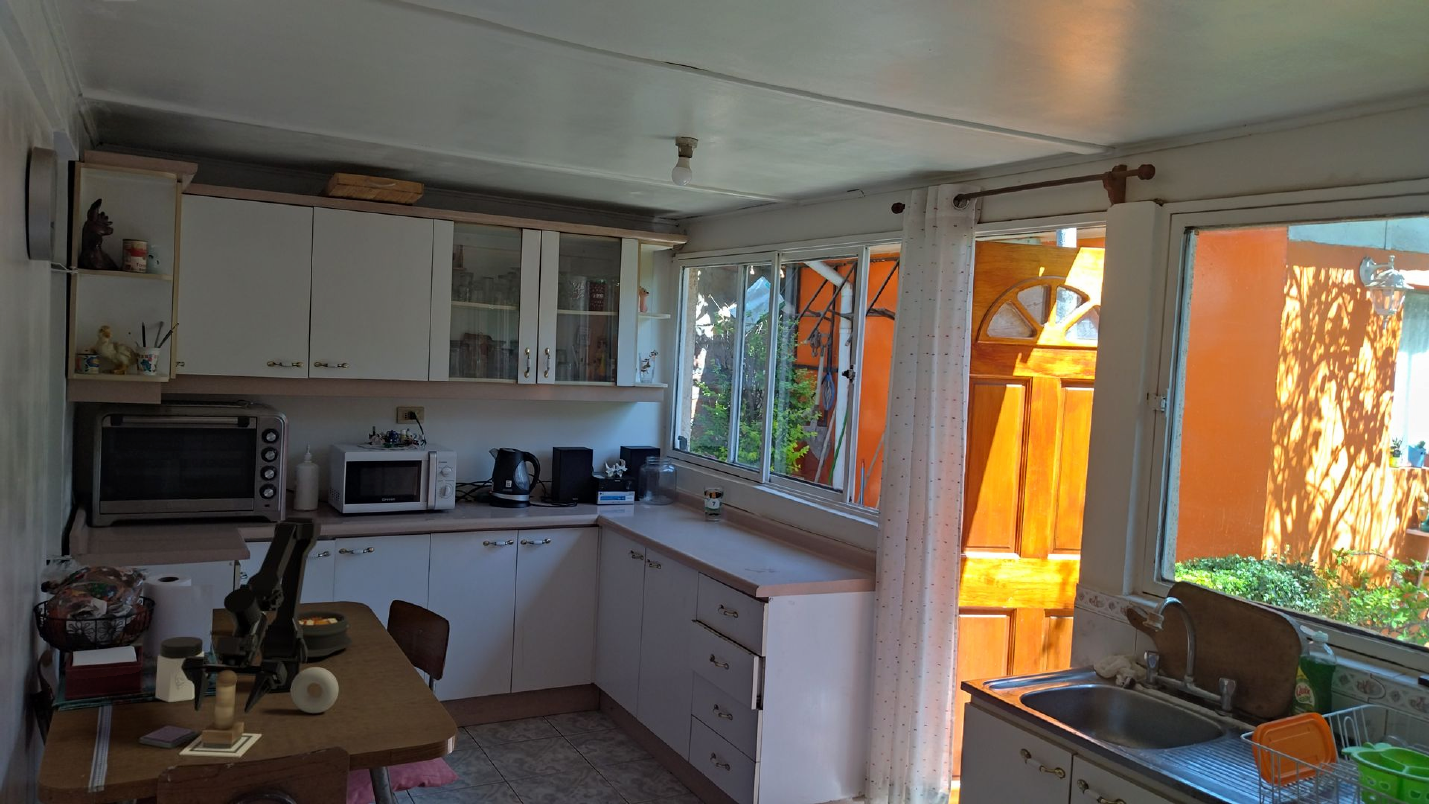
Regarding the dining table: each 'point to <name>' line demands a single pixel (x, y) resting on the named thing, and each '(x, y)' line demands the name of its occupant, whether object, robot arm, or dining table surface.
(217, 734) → the stamp
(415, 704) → the dining table surface
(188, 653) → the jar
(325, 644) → the casserole
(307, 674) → the donut
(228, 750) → the print card
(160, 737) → the ink pad
